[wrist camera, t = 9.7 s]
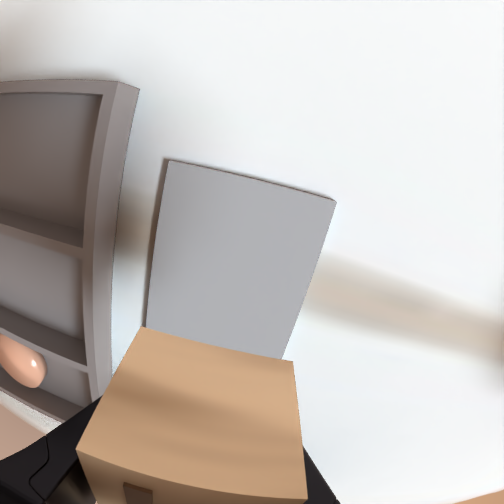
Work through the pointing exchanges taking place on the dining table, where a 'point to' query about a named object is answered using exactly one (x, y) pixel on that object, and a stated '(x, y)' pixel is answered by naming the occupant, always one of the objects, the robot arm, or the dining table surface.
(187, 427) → the letter cube
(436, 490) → the dining table surface
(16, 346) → the peach egg shape
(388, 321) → the dining table surface
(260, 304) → the mat
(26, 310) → the organizer tray
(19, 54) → the dining table surface
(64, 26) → the dining table surface
